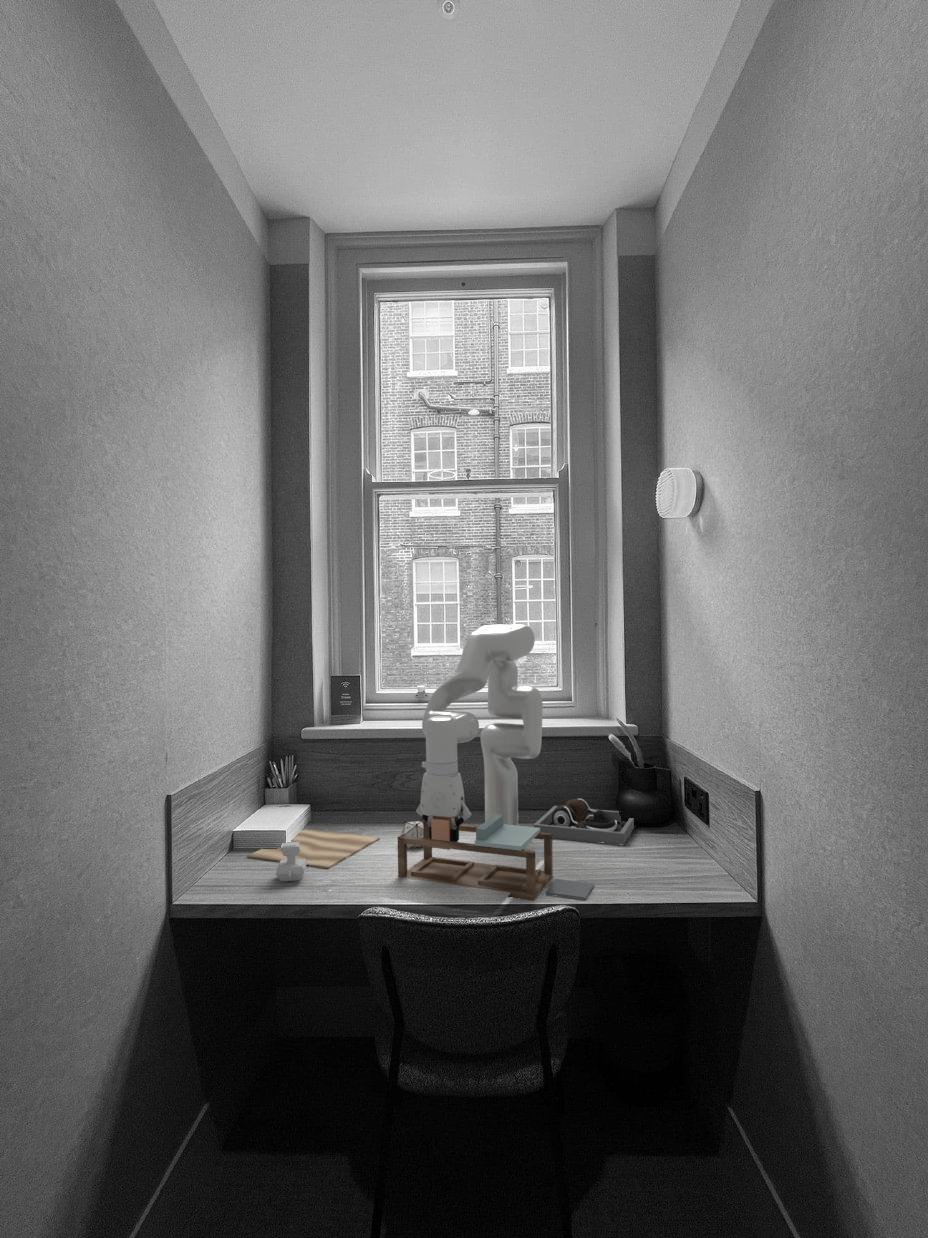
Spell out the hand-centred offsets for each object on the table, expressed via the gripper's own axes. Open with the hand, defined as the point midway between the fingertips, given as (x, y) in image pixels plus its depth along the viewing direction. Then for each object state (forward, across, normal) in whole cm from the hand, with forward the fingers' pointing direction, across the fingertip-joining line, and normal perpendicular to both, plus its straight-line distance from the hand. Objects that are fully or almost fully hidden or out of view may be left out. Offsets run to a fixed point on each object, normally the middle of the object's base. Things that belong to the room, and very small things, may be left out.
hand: (444, 842), depth 175 cm
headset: (+10, +24, +49) cm, 55 cm away
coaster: (+8, +31, 0) cm, 32 cm away
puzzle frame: (+8, +8, -1) cm, 11 cm away
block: (+1, 0, 0) cm, 1 cm away
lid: (-3, +17, -1) cm, 17 cm away
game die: (+8, -15, +14) cm, 22 cm away
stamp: (+7, -33, -16) cm, 38 cm away
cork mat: (+8, -41, +6) cm, 42 cm away
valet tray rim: (+9, +24, +48) cm, 54 cm away
